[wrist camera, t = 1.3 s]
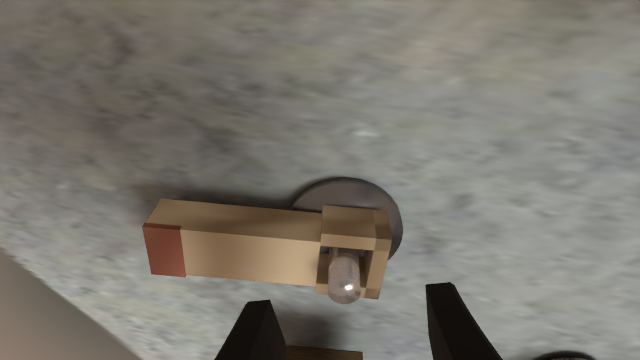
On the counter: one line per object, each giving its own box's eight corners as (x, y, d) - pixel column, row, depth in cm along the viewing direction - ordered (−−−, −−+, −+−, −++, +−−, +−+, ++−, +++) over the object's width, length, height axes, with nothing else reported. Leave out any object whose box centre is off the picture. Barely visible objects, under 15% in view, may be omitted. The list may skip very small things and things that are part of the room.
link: (387, 210, 20) (392, 241, 18) (374, 268, 22) (378, 300, 20) (159, 190, 19) (140, 218, 18) (168, 249, 21) (152, 280, 20)
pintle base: (288, 172, 20) (276, 232, 16) (412, 183, 20) (429, 246, 16) (283, 262, 23) (272, 331, 19) (390, 272, 23) (400, 342, 19)
